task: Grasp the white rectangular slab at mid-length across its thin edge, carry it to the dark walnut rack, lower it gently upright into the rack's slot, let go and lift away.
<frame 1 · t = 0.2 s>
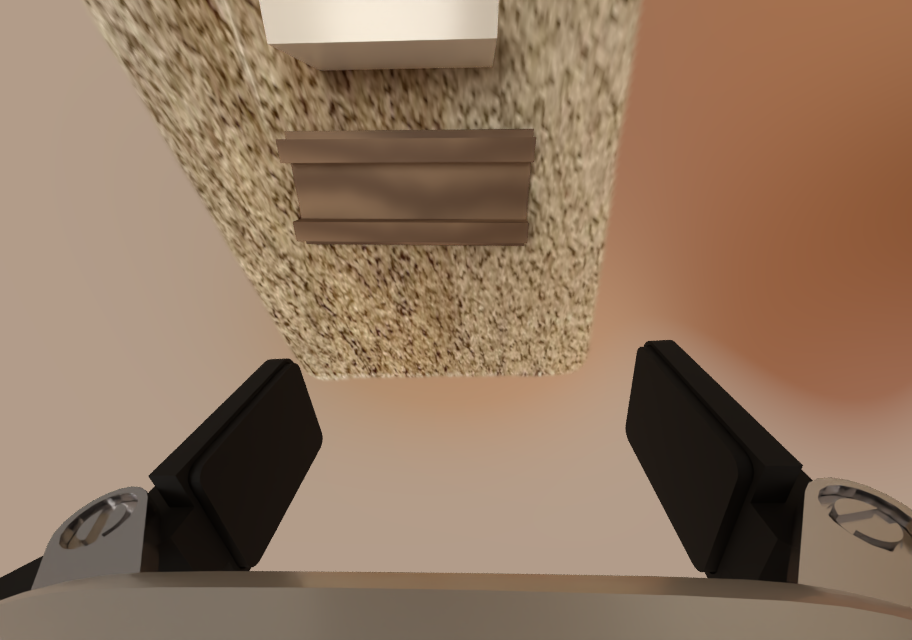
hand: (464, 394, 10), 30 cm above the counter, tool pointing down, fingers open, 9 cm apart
white rectangular slab: (404, 48, 31), on the counter
rack: (412, 190, 36), on the counter
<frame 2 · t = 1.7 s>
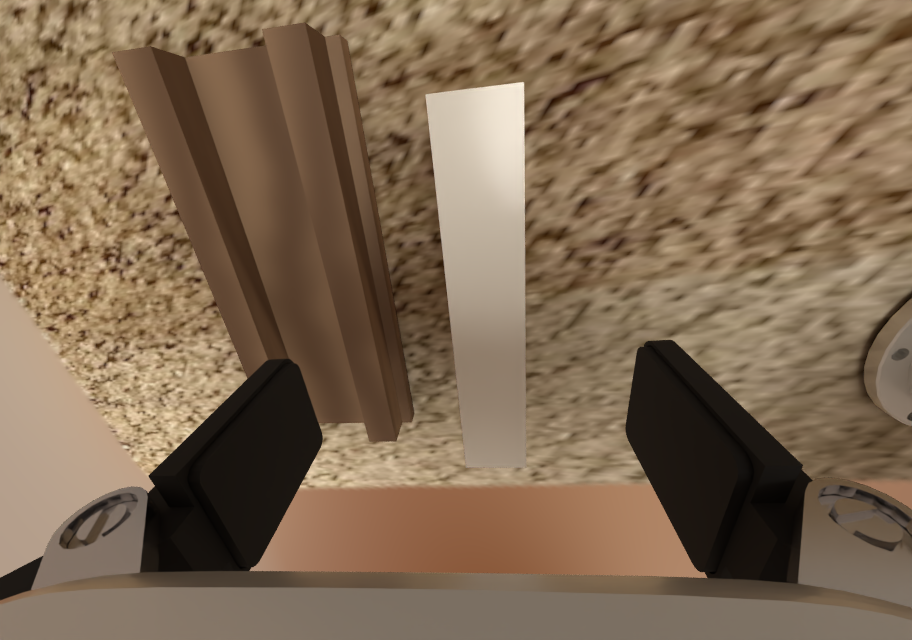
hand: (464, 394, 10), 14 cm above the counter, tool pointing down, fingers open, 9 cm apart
white rectangular slab: (487, 261, 22), on the counter
rack: (308, 274, 23), on the counter
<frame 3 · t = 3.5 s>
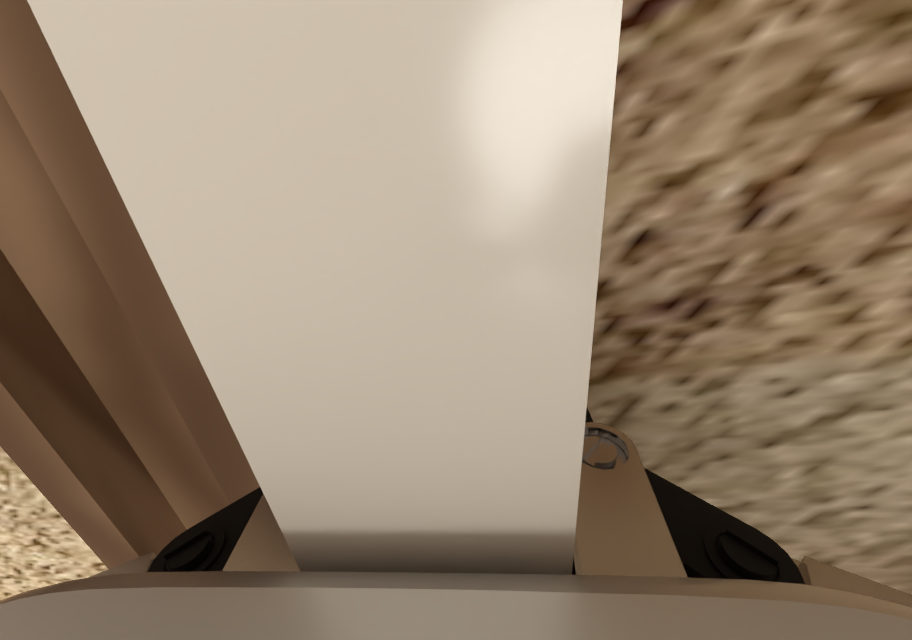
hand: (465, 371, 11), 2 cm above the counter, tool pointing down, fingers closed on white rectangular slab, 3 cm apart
white rectangular slab: (468, 337, 13), on the counter, touching gripper
rack: (168, 352, 14), on the counter
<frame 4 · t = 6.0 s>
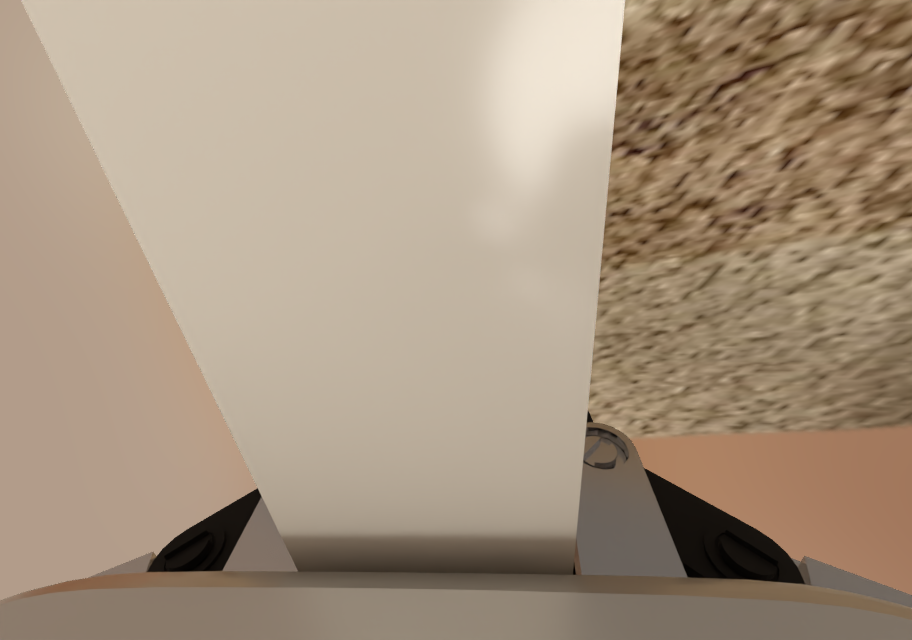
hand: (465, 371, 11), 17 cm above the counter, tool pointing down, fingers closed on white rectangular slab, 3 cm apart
white rectangular slab: (467, 337, 13), point 15 cm above the counter, touching gripper
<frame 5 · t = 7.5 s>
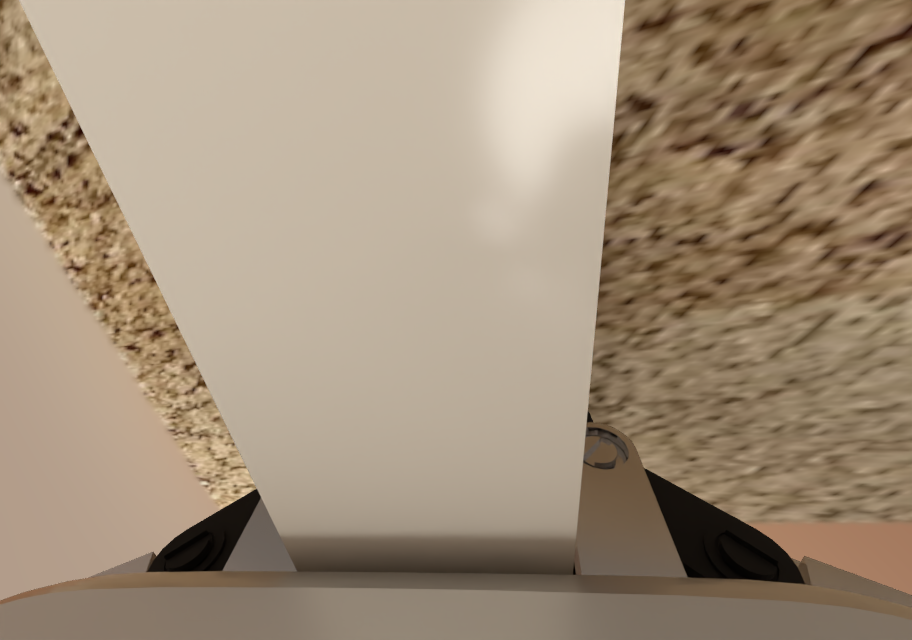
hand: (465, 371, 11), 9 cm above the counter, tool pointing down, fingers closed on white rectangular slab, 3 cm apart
white rectangular slab: (467, 337, 13), point 7 cm above the counter, touching gripper
when the fingers open (4 cm above the counter, at t = 8.6 s): white rectangular slab stays where it is, resting on rack.
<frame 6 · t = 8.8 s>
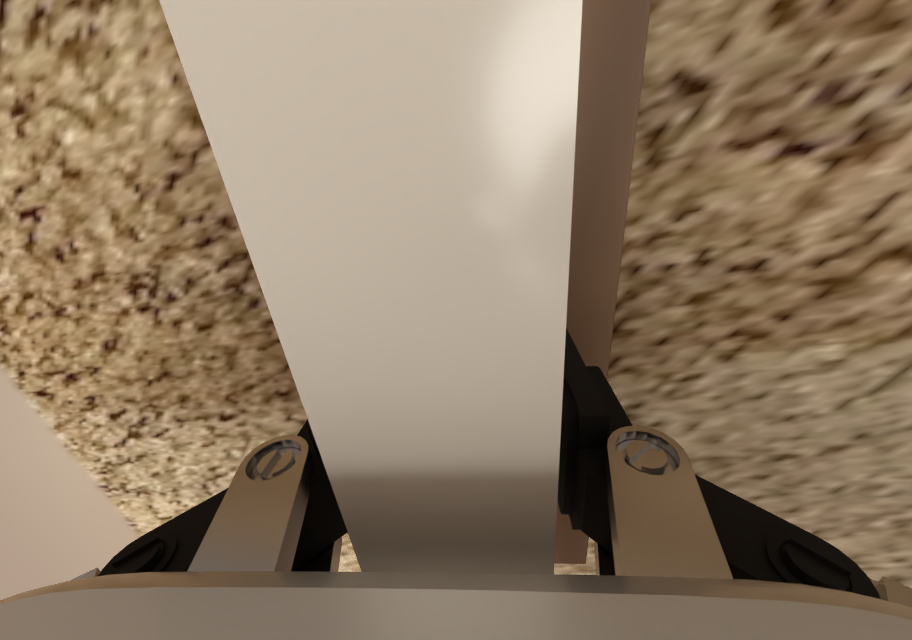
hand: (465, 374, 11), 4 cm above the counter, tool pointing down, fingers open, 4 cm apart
white rectangular slab: (469, 318, 13), point 1 cm above the counter, touching rack
rack: (468, 314, 14), on the counter
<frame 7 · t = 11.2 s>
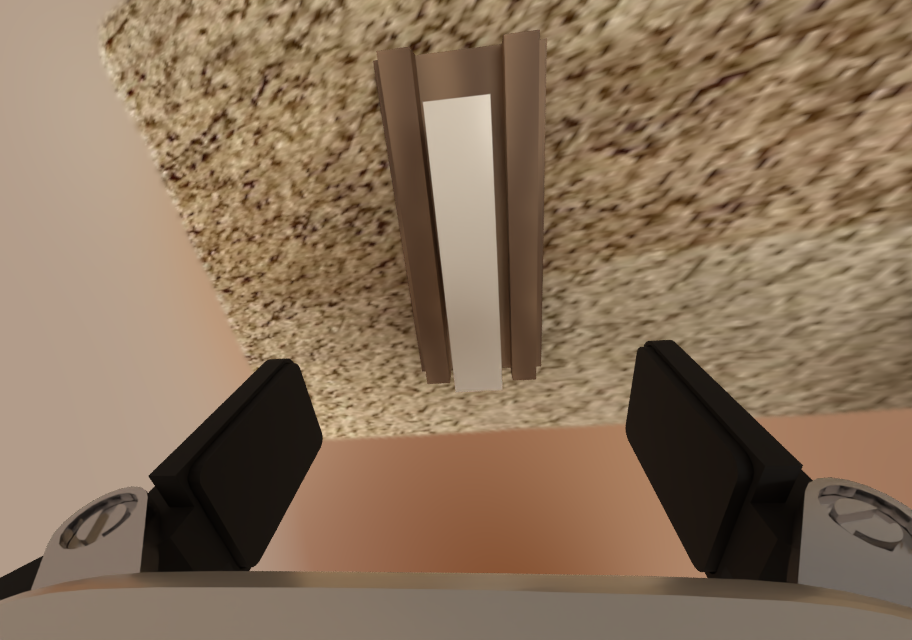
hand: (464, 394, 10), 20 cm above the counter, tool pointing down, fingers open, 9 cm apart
white rectangular slab: (472, 235, 27), point 1 cm above the counter, touching rack
rack: (471, 236, 28), on the counter
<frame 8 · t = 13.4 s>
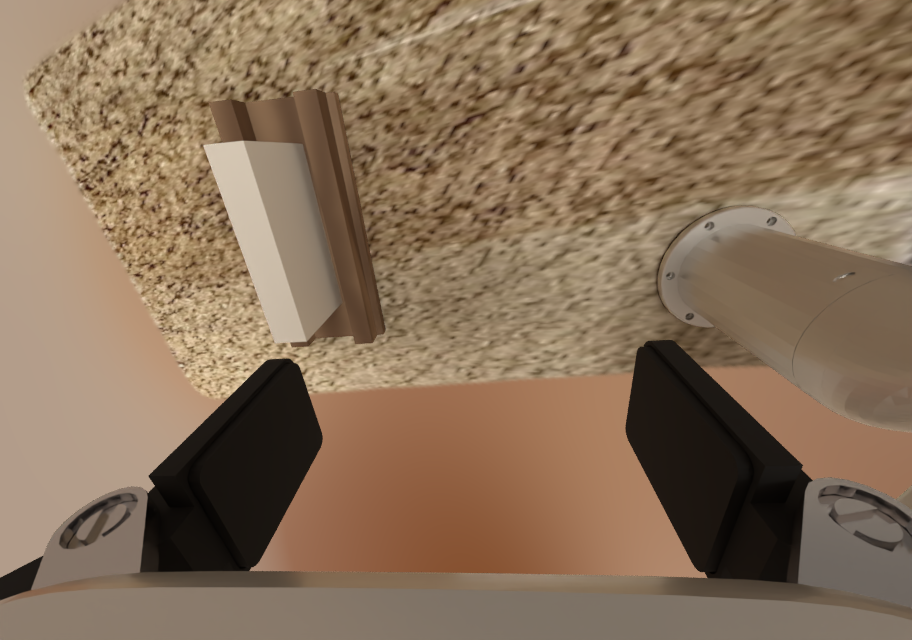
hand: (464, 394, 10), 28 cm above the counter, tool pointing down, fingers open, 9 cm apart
white rectangular slab: (310, 231, 36), point 1 cm above the counter, touching rack
rack: (314, 232, 37), on the counter
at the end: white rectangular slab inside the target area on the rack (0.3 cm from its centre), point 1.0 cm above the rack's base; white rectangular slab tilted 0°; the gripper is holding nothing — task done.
